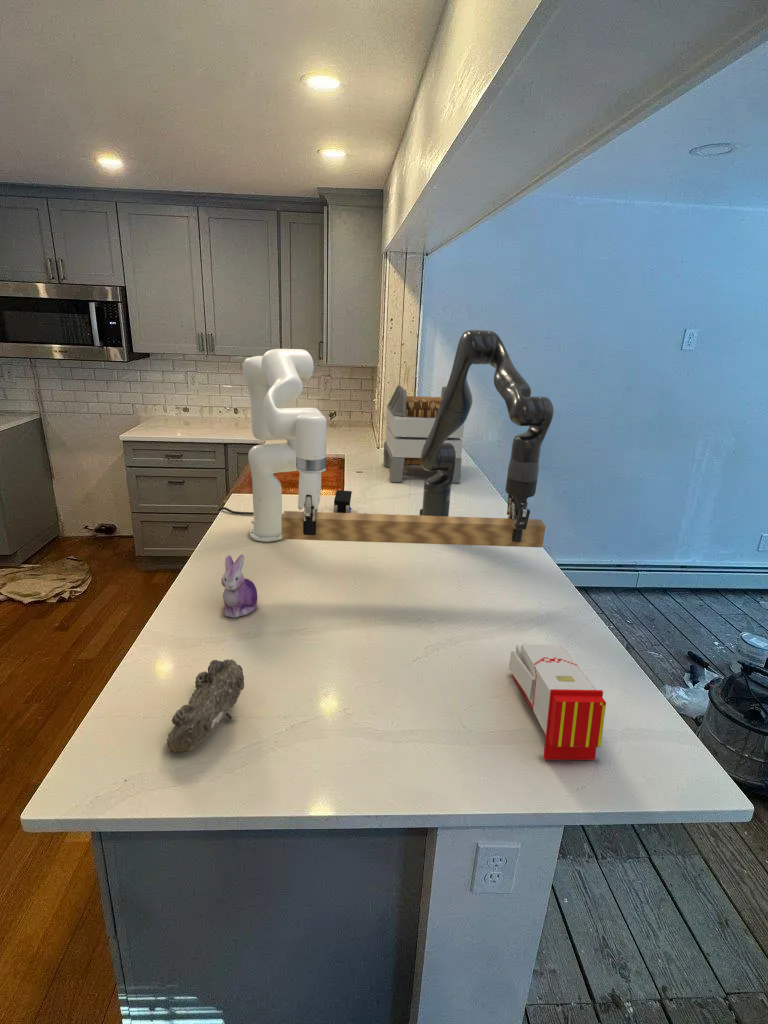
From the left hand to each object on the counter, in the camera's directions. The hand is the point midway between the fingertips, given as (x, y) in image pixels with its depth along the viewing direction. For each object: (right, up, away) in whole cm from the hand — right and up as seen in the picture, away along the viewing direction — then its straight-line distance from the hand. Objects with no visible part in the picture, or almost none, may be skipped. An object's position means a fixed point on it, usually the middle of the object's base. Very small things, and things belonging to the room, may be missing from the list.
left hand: (310, 529), depth 148 cm
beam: (+27, -3, +1) cm, 27 cm away
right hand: (+54, -2, +1) cm, 54 cm away
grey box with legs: (+36, +23, +126) cm, 134 cm away
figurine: (-18, -21, -3) cm, 27 cm away
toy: (+52, -35, -34) cm, 72 cm away
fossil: (-14, -34, -40) cm, 55 cm away
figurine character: (+3, +4, +68) cm, 68 cm away
